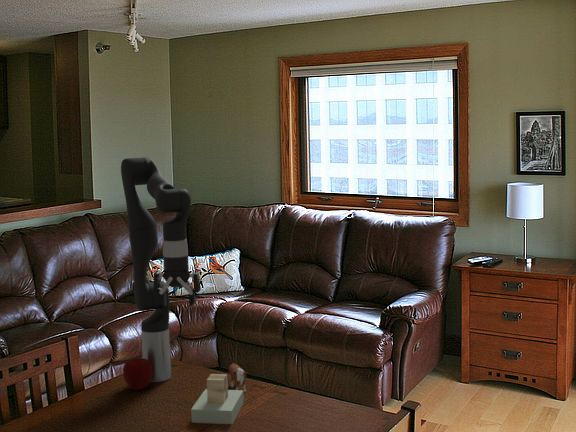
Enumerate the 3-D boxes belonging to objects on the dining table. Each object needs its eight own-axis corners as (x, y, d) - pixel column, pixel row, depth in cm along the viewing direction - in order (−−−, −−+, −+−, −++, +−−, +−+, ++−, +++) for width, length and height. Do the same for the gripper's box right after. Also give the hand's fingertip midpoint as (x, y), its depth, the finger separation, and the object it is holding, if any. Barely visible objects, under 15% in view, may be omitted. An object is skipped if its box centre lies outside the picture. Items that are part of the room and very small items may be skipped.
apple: (144, 395, 235) (143, 364, 234) (118, 392, 238) (116, 362, 237) (158, 384, 244) (157, 355, 243) (133, 382, 247) (131, 353, 246)
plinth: (205, 401, 229) (205, 389, 228) (243, 402, 227) (243, 390, 226) (191, 422, 213) (191, 409, 212) (232, 424, 211) (231, 410, 211)
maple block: (211, 396, 222) (211, 373, 221) (228, 396, 221) (227, 374, 220) (207, 402, 217) (206, 379, 216) (224, 403, 216) (223, 380, 215)
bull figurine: (236, 397, 231) (235, 372, 230) (228, 383, 244) (227, 359, 243) (249, 396, 232) (249, 371, 231) (240, 381, 245) (240, 358, 244)
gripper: (201, 252, 227) (203, 303, 229) (157, 251, 229) (159, 302, 231) (194, 256, 220) (197, 309, 222) (149, 256, 222) (151, 308, 224)
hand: (177, 305), depth 227 cm, fingers open, 8 cm apart
